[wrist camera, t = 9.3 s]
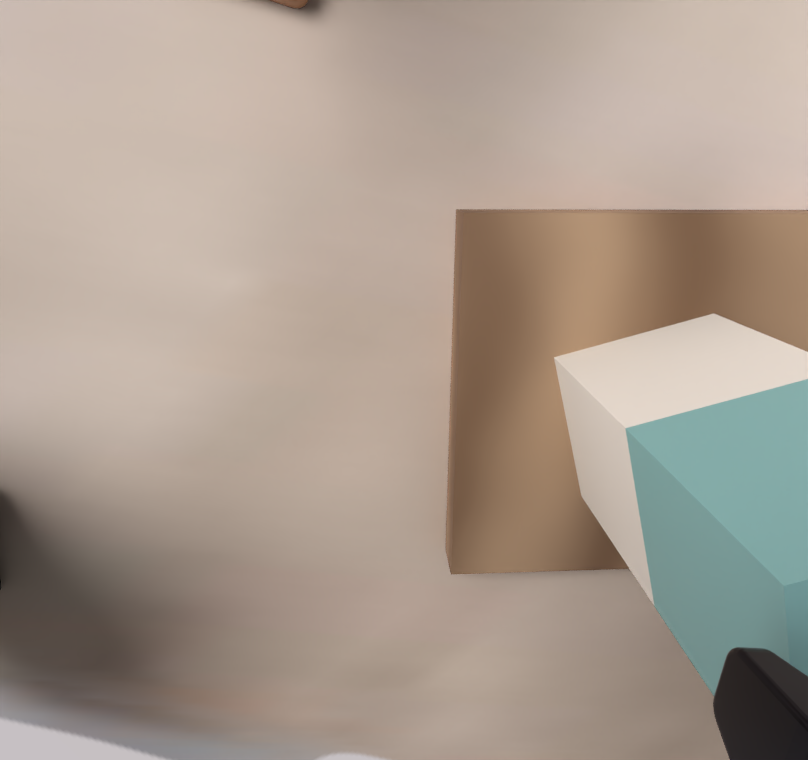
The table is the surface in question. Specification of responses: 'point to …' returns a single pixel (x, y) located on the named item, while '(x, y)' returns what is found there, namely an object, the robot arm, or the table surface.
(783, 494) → the block
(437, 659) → the table surface
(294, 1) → the gingerbread man figurine
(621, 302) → the board
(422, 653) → the table surface
